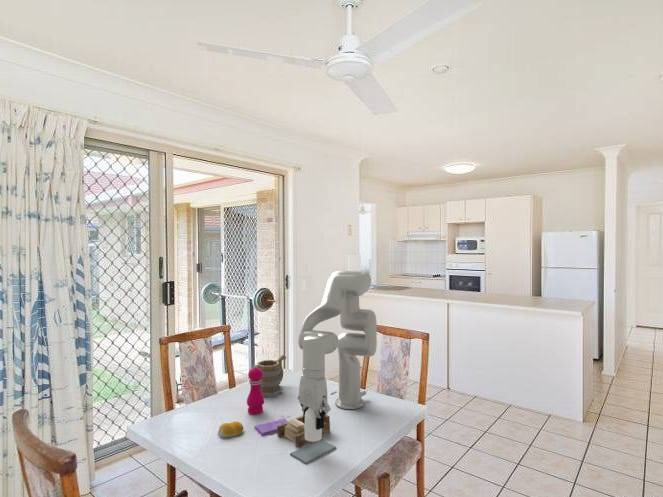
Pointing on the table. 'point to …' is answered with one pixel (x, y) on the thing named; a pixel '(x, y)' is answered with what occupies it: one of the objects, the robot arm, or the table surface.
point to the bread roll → (230, 429)
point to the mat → (312, 451)
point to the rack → (301, 436)
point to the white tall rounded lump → (312, 426)
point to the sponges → (269, 427)
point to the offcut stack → (294, 429)
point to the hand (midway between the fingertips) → (313, 424)
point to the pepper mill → (255, 392)
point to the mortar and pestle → (271, 376)
